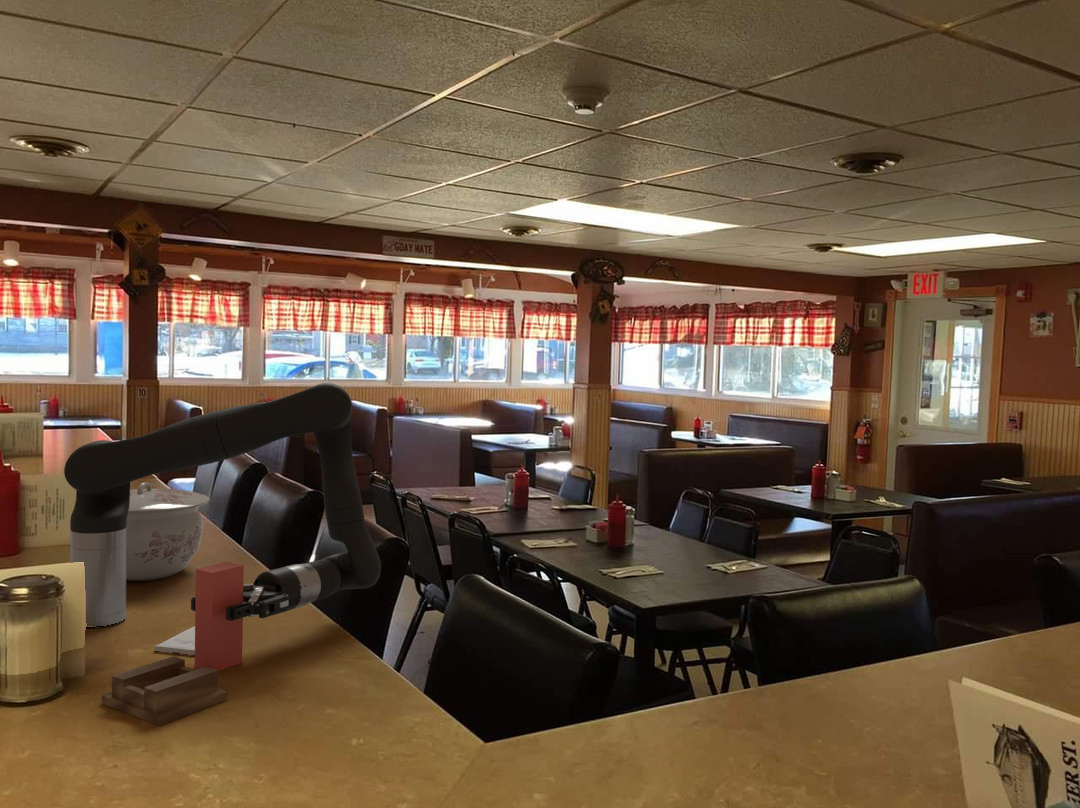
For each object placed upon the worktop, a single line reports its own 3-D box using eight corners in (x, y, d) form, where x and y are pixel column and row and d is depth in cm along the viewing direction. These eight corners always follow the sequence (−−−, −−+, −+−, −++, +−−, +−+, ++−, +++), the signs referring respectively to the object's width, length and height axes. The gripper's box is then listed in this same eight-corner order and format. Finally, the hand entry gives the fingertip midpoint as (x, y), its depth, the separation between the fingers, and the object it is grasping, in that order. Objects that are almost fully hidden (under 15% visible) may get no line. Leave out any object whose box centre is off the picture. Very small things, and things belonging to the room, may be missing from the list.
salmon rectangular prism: (194, 667, 138) (195, 568, 137) (225, 657, 143) (227, 561, 143) (211, 673, 136) (212, 572, 135) (242, 662, 141) (243, 565, 140)
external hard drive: (238, 636, 156) (197, 659, 144) (197, 632, 157) (153, 654, 145) (238, 627, 156) (197, 649, 144) (197, 623, 157) (153, 644, 145)
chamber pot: (90, 597, 175) (90, 495, 174) (63, 568, 197) (63, 478, 195) (229, 578, 193) (230, 486, 192) (190, 554, 214) (191, 471, 213)
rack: (102, 703, 123) (102, 674, 123) (170, 680, 133) (170, 653, 133) (159, 725, 117) (159, 695, 116) (226, 699, 126) (227, 671, 126)
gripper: (260, 561, 155) (180, 579, 141) (317, 573, 148) (240, 593, 134) (259, 602, 155) (180, 624, 142) (316, 616, 148) (239, 641, 134)
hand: (209, 609), depth 138 cm, fingers open, 8 cm apart
